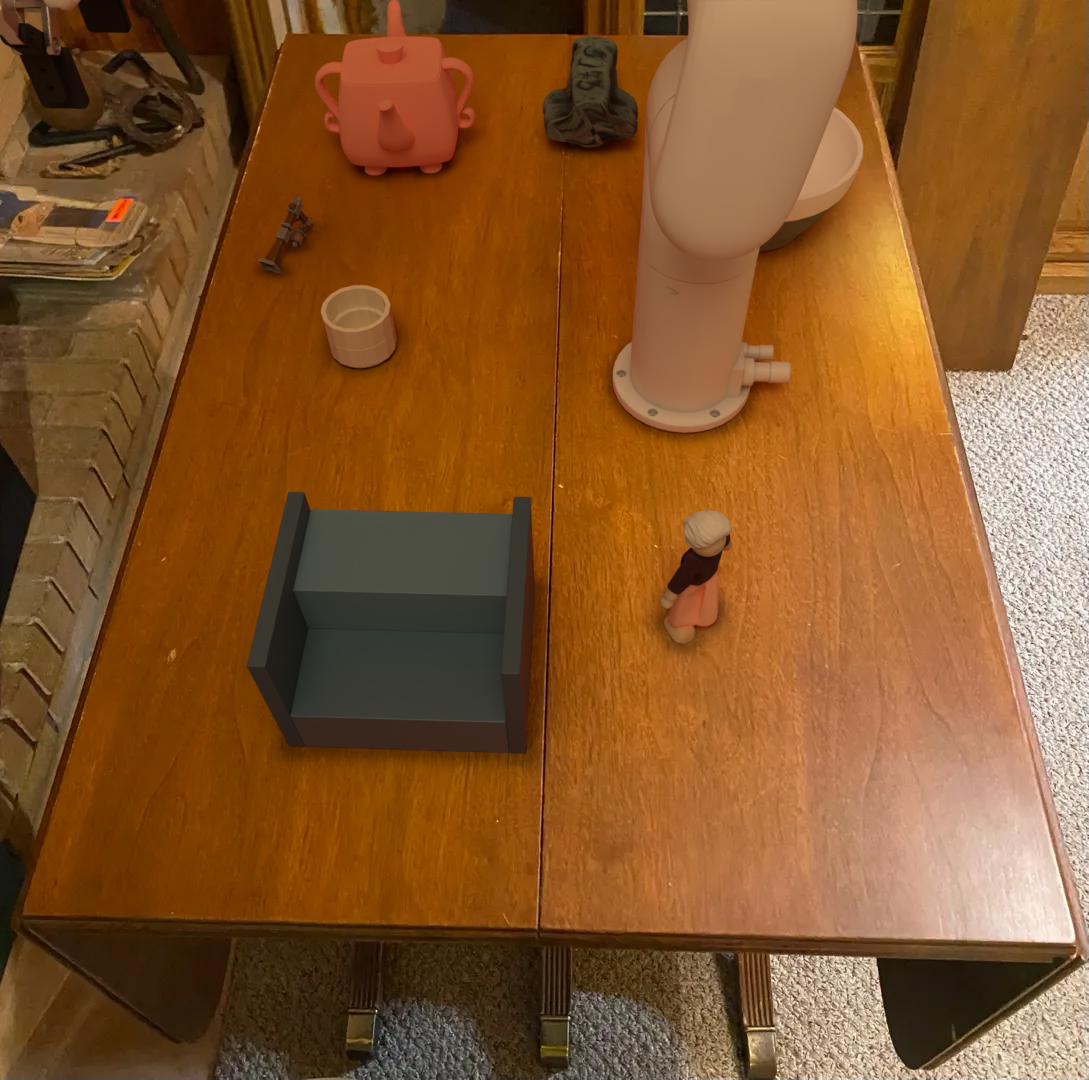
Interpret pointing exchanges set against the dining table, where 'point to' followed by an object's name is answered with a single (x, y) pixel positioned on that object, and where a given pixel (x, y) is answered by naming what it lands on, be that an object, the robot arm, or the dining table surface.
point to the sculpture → (591, 98)
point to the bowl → (823, 179)
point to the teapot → (397, 100)
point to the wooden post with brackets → (287, 235)
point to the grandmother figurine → (696, 576)
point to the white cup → (359, 326)
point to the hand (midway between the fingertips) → (89, 67)
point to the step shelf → (398, 629)
